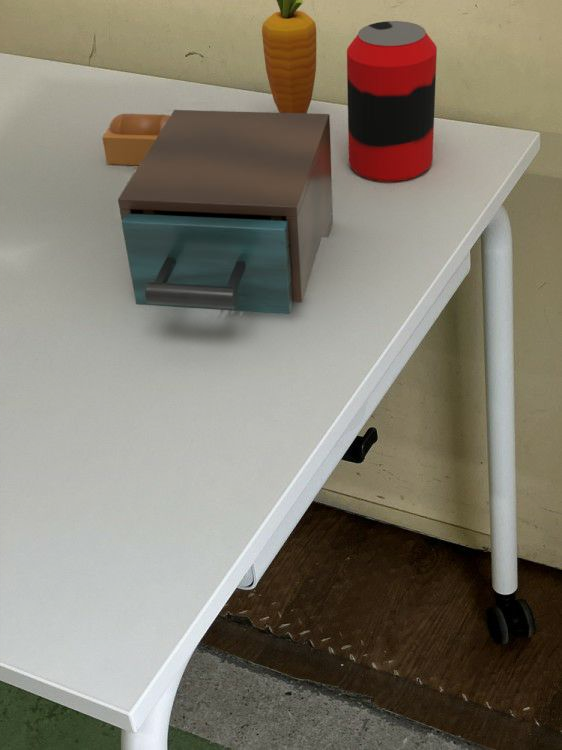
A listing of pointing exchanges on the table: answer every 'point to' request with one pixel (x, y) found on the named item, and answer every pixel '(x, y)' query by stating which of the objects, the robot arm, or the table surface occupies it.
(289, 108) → the carrot
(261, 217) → the drawer
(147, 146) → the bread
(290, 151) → the cabinet
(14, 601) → the table surface
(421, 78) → the soda can
